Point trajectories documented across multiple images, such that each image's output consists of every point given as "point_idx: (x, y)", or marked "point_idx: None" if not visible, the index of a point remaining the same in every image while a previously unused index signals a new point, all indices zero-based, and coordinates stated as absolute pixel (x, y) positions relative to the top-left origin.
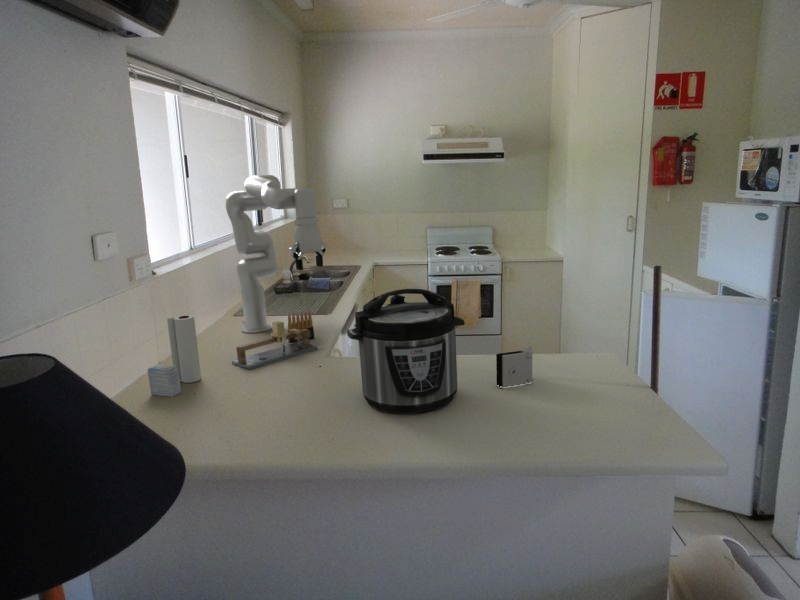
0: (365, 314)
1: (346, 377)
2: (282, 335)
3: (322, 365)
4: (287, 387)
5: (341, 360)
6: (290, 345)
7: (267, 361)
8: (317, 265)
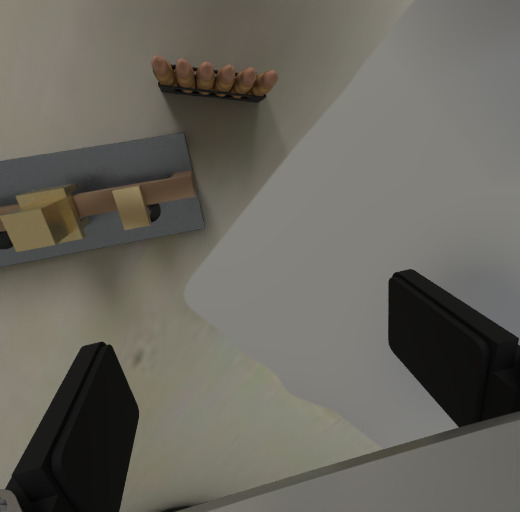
0: None
1: (150, 441)
2: (60, 241)
3: (145, 356)
4: (16, 433)
5: (200, 350)
6: (135, 156)
7: (9, 264)
8: (392, 295)
